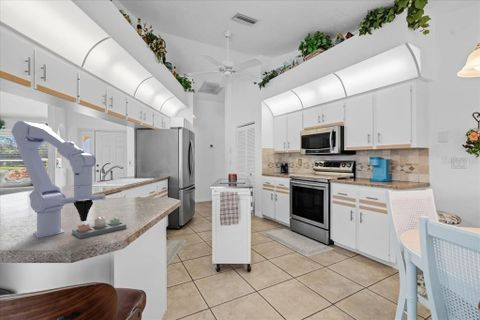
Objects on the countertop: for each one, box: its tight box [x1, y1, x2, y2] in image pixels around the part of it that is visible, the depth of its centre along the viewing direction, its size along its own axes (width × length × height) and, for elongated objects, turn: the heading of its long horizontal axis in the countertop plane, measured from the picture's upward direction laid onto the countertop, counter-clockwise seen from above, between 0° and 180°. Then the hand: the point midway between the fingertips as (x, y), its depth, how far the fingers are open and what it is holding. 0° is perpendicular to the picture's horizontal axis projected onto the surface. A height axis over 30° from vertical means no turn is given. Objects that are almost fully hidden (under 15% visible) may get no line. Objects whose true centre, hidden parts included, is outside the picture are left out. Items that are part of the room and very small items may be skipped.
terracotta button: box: [77, 223, 91, 233], centre depth 87 cm, size 4×4×4 cm
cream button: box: [94, 216, 106, 228], centre depth 91 cm, size 4×4×4 cm
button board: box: [71, 221, 127, 239], centre depth 91 cm, size 10×16×2 cm, turn 139°
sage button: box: [109, 217, 121, 226], centre depth 95 cm, size 4×4×4 cm
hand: (83, 220), depth 87 cm, fingers closed
